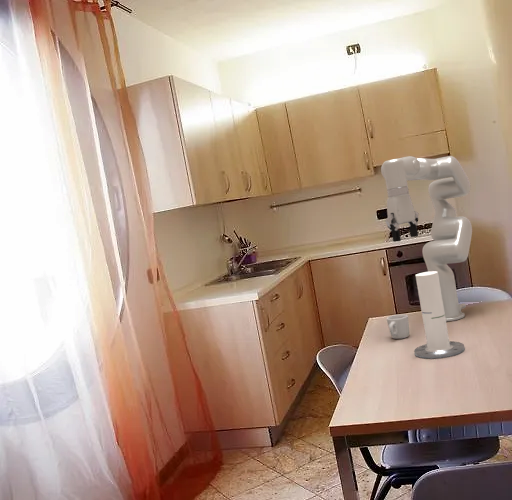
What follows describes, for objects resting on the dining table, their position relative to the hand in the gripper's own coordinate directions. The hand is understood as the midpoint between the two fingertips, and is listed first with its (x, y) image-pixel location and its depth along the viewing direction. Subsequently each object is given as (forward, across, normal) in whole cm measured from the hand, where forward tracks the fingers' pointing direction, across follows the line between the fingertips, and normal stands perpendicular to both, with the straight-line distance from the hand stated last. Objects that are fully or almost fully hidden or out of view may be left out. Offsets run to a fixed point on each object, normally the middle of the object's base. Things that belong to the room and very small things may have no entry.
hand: (405, 238), depth 228 cm
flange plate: (+36, +16, +20) cm, 44 cm away
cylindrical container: (+35, +16, +20) cm, 43 cm away
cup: (+36, +6, -6) cm, 37 cm away
